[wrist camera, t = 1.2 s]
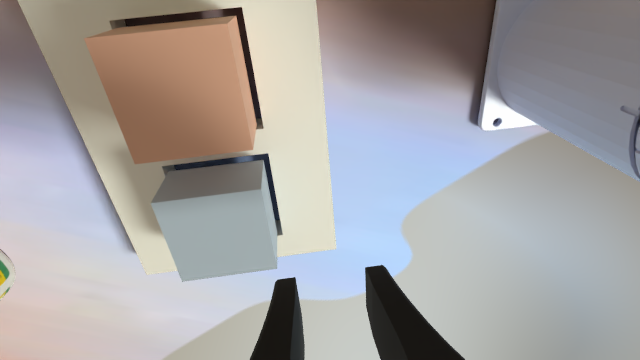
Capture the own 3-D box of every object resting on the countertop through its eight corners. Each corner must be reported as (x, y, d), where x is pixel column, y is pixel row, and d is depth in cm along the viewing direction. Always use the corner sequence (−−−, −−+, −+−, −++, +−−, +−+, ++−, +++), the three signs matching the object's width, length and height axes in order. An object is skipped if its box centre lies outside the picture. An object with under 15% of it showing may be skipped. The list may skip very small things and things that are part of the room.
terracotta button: (236, 15, 15) (227, 23, 12) (256, 124, 18) (253, 149, 15) (117, 27, 15) (83, 38, 12) (156, 136, 17) (134, 164, 15)
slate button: (263, 159, 19) (261, 189, 16) (277, 232, 21) (277, 268, 18) (168, 171, 18) (150, 203, 16) (194, 243, 21) (182, 281, 18)
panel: (288, -286, 12) (290, -321, 11) (332, 233, 24) (336, 248, 22) (-74, -262, 11) (-123, -296, 10) (154, 257, 23) (146, 274, 22)
